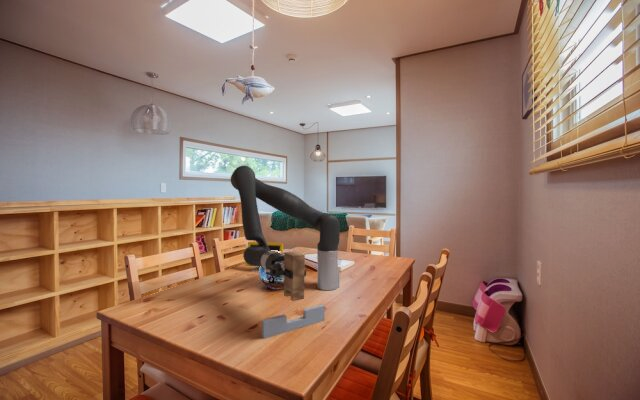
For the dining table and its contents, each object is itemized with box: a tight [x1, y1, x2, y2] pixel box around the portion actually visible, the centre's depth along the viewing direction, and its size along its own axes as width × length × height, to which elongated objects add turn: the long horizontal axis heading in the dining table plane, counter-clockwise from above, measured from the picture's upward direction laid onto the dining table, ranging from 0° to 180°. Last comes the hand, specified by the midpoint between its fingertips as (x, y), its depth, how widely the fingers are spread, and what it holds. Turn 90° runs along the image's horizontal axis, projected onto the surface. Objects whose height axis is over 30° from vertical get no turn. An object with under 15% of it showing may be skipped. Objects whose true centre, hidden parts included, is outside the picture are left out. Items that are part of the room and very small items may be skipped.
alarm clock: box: [244, 241, 284, 272], centre depth 165 cm, size 20×8×16 cm, turn 80°
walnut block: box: [283, 251, 306, 302], centre depth 96 cm, size 4×6×14 cm, turn 34°
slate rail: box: [261, 304, 326, 339], centre depth 97 cm, size 22×2×5 cm, turn 124°
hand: (298, 274), depth 94 cm, fingers closed on walnut block, 4 cm apart
